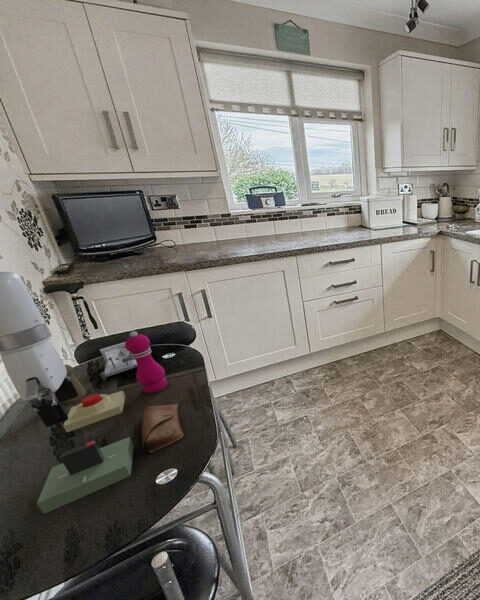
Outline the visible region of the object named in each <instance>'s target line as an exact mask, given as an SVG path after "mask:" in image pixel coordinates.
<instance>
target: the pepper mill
mask: <svg viewBox="0 0 480 600" xmlns="http://www.w3.org/2000/svg"><path fill="white" fill-rule="evenodd" d="M150 344H151V340H150V339H149V337H148V336H146V335H144V334H138V332H137V331H135V330H132V331H131V332H129V337H128V338H127V339H126V340H125V348H126V349H127V350H128V351H129V352H131V355H132V358H135V360H136V362H137V366H138V367H136V368H137V369H136V380H137V383H138V384H139V385H142V390H143V392H144V393H145V394H151V393H155V392H158V391H160V390H162V389H164V388H165V387H166V386H168V380H167V378H166V377H165V375H166V371H165V368H163V366H161V364H160V363H158V362H156V361H155V360H154V358H153V356H152V348H151V347H150Z"/></svg>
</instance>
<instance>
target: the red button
mask: <svg viewBox="0 0 480 600" xmlns="http://www.w3.org/2000/svg"><path fill="white" fill-rule="evenodd" d="M100 395H101V394H100V393H92V394H90V395H88V396H85V397H84V398H82V399H81V401H80V403H81V402H82V404H83V406H84V407H89V406H92V405H95V404H96V403H98V402H100V401H101V400H102V398H101V396H100Z"/></svg>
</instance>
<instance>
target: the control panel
mask: <svg viewBox="0 0 480 600" xmlns="http://www.w3.org/2000/svg"><path fill="white" fill-rule="evenodd" d="M99 449H100V450H101V452H102V454H103V456H104V462H102V463H100V464H97V465H95V466H93V467H90V468H88V469H85V470H83V471H80V472H78V473H76V474H73V475H70V473H69V472H68V470H67V469H66V467H65V465H64V464H63V462H61V463H59V464H57V465H53V466H51V468H50V471H49V474H48V475H47V478H46V481H45V483H44V485H43V488H42V489H41V492H40V495H39V498H38V499H37V502H36V505H37V507H38V508H39V509H40V510H41V512H42V513H43V515H45V514H48V513H50V512H52V511H54V510H57V509H59V508H61V507H63V506H66V505H68V504H70V503H73V502H75V501H77V500H79V499H82V498H83V497H86V496H88V495H91V494H93V493H95V492H98V491H99V490H103V489H105V488H106V487H108V486H111V485H113V484H115V483H117V482H120V481H122V480H125V479H127V478H129V477H131V476H132V466H133V460H134V452H135V445H134V443H133V441H132V439H131V437H130V436H128V437H125V438H123V439H120V440H118V441H115V442H112V443H110V444H108V445H105V446H103V447H99Z"/></svg>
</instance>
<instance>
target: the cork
mask: <svg viewBox="0 0 480 600" xmlns="http://www.w3.org/2000/svg"><path fill="white" fill-rule="evenodd" d="M64 365H65V367H66V370H67V375H69V377H70V380H71V381H72V383H73V385H74V387H75V388H76V390H77V392H78V394H79V395H78V397H75V398H72V399H69V400H66V401H63V402H62V403H63V404H67V403H71V402H75V401H77V400H79V399H82V398H83V397H84V396H85V395H86V394H87V393H88V391H87V389H86V388H85V387H84V385H82V383H81V382H80V381H79V379H78V378H77V377H76V376H75V374H74V368H73V366H72V365H70V364H64ZM70 380H69V381H70ZM86 391H87V392H86ZM85 393H86V394H85ZM81 396H82V397H81Z"/></svg>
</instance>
